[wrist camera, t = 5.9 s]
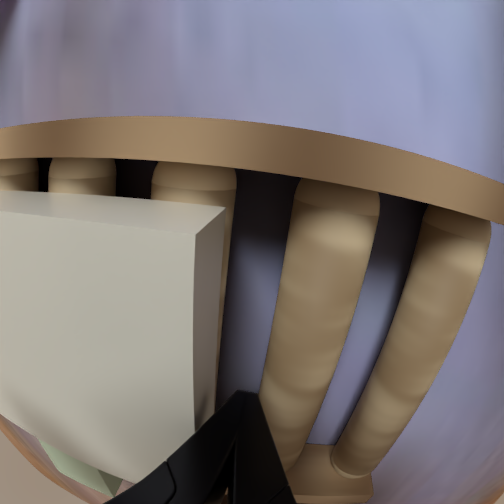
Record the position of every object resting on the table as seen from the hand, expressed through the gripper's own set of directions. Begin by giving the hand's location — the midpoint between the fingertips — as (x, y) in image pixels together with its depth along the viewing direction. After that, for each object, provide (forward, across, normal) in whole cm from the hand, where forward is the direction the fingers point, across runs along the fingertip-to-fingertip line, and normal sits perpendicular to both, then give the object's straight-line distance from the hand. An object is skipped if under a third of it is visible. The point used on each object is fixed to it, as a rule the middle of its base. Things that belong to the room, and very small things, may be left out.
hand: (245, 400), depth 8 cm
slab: (+1, +9, 0) cm, 9 cm away
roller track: (+3, +6, 0) cm, 6 cm away
